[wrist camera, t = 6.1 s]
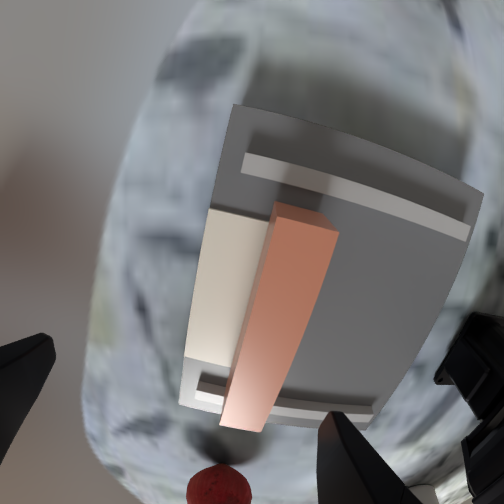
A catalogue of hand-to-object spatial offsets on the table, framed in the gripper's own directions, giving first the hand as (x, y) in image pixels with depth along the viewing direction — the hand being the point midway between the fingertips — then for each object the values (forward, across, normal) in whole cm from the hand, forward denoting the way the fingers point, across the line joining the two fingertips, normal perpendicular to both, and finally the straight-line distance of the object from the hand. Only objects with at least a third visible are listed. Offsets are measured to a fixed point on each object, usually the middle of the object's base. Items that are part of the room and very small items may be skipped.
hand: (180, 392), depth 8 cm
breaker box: (+9, -6, 0) cm, 10 cm away
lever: (+6, -3, 0) cm, 6 cm away
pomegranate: (+9, -4, +20) cm, 22 cm away
